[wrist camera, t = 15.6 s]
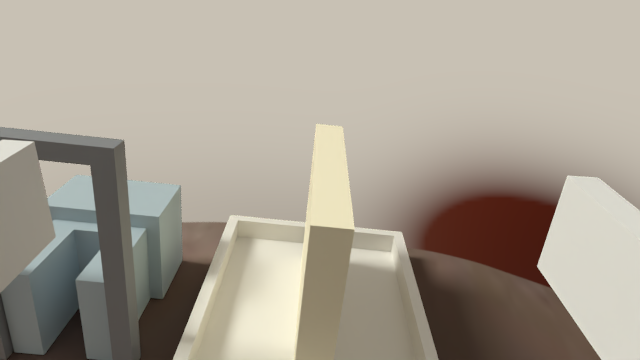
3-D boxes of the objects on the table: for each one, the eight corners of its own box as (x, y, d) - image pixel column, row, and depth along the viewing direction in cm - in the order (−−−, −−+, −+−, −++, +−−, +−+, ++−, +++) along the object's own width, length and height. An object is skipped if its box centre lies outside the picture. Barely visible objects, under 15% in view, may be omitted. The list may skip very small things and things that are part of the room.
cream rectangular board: (324, 259, 39) (342, 126, 34) (324, 413, 25) (354, 229, 20) (301, 256, 39) (316, 123, 34) (289, 410, 25) (310, 225, 20)
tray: (396, 254, 42) (401, 232, 41) (454, 487, 23) (466, 456, 22) (229, 238, 42) (230, 214, 41) (148, 462, 23) (145, 428, 22)
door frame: (187, 260, 38) (184, 90, 32) (133, 371, 27) (113, 148, 21) (81, 250, 38) (58, 76, 32) (-14, 357, 27) (-76, 128, 21)
